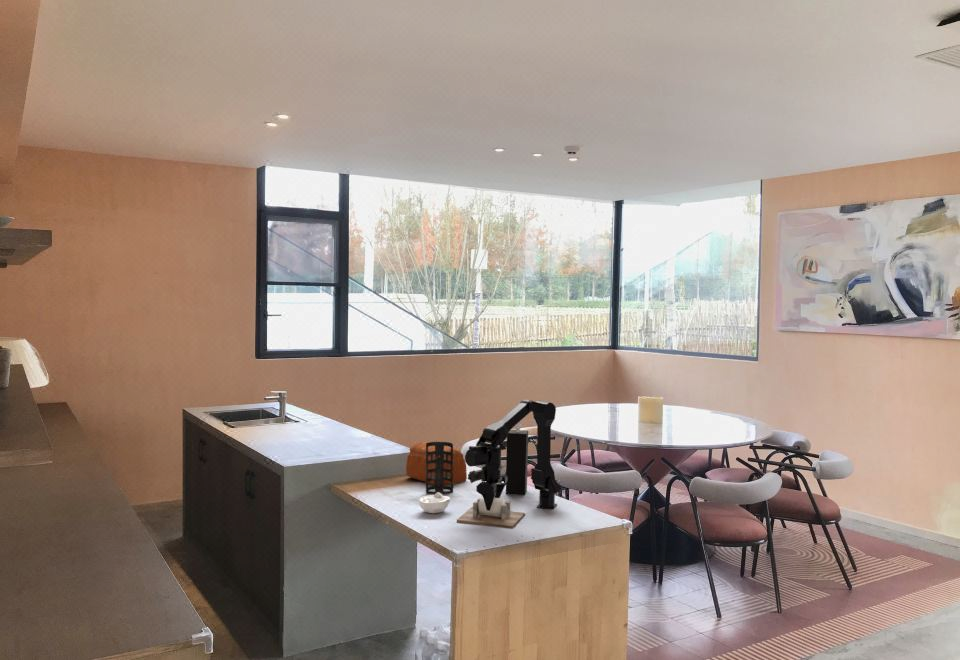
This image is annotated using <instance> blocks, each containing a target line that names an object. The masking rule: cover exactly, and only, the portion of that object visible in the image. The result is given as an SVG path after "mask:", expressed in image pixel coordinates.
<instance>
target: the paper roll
mask: <svg viewBox="0 0 960 660" xmlns="http://www.w3.org/2000/svg"><path fill="white" fill-rule="evenodd" d="M479 498H480V501H479V503H478V507H479V513H480V514H486V515H495V516H502V505H503V504H505V502H506V499H505V498H501V497H500V498H494V500H493V503H492V506H491V509H490V510H489V511H488V510H486V506H485V502H484V498H483V496H480V497H479ZM507 509H508V506H507Z"/></svg>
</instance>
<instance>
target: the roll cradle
mask: <svg viewBox="0 0 960 660" xmlns="http://www.w3.org/2000/svg"><path fill="white" fill-rule="evenodd" d="M480 498H481V497H478V498H477V499H476V500H475V501H473V502H472V507H470V508H469V509H468V510H467V511H465V512H464V513H463V514H462V515H461V516H460V517H458V518H457V519H456V523H460V524H461V523H462V524H470V525H478V526H487V527H488V526H489V527H496V528H497V527H498V528H506V529H513V528H515V527H516V526H517V524H518V523H519V522H520V521H521V520H522V519H523V518H524V517H525V515H526V513H525V512H522V511H521V512H520V511H514V510H513V511H512V510H511V501H509V500H507V501H505V504H503V505H502V516H495V515H486V514H480V513H479V507H478V503H479V501H480ZM507 506H508V509H507ZM523 516H524V517H523Z"/></svg>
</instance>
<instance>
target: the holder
mask: <svg viewBox="0 0 960 660" xmlns="http://www.w3.org/2000/svg"><path fill="white" fill-rule="evenodd" d="M427 442H428V443H426V482H425V494H428V495H435V494H436V493H441V494H442V495H450V494H453V493H454V484H453V448H454V444H453V443H452V442H450V441H430V442H429V441H427ZM429 446H435V451H431V452H428V447H429ZM444 446H445V447H448V448H451V452H447V451H444ZM433 454H435V460H434V459H433ZM444 454H445V455H446V460H444ZM428 455H431V460H428ZM439 455H440V458H439ZM448 455H450V456H451V461H449V460H448ZM431 463H434V464H435V468H433V469H428V464H431ZM444 463H448V464H450V465H451V469H446V468H444ZM438 470H440V472H438ZM433 472H435V476H434V477H433ZM444 472H446V477H444ZM448 472H449V473H450V474H451V478H449V477H448ZM428 473H431V477H430V478H428ZM432 480H434V481H435V482H434V485H430V486H429V483H428V482H429V481H432ZM444 480H447V481H450V482H451V485H445V486H444V485H443V481H444ZM438 484H439V486H438ZM433 490H434V491H433ZM444 490H447V491H444Z"/></svg>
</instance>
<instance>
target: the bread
mask: <svg viewBox="0 0 960 660" xmlns="http://www.w3.org/2000/svg"><path fill="white" fill-rule="evenodd" d="M428 442H429V441H422V442H418V443H415V444H413V445H412V446H411V447H410V448H409V453H408V455H407V457H406V459H407V460H406V465H405V471H406V472H405V473H406V476H407V477H408V478H411V479H414V480H418V481H419V482H420V481H421V482H423V483H424V482H425V483H426V443H428ZM431 451H435V446H429V447H428V452H431ZM444 451H447V452H451V447H449V446H444ZM439 458H440V455H439ZM433 459H434V460H435V454H433ZM428 460H431V455H428ZM444 460H446V455H445V454H444ZM448 460H449V461H451V456H450V455H448ZM433 468H435V464H434V463H431V464H428V469H433ZM444 468H446V469H451V465H450V464H448V463H444ZM438 472H440V470H438ZM434 476H435V472H433V477H434ZM430 477H431V473H428V478H430ZM444 477H446V472H444ZM448 477H449V478H451V474H450V473H449V472H448ZM466 480H468V474H467V463H466V461H465V456H464V454H463V453H462V451H460V450H459V449H457V448H454V447H453V485H455V484H460V483H463V482H466ZM434 482H435V481H434V480H432V481H429V482H428V484H430V485H432V486H434ZM443 485H444V486H451V482H450V481H447V480H444V481H443ZM438 486H439V484H438Z"/></svg>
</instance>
